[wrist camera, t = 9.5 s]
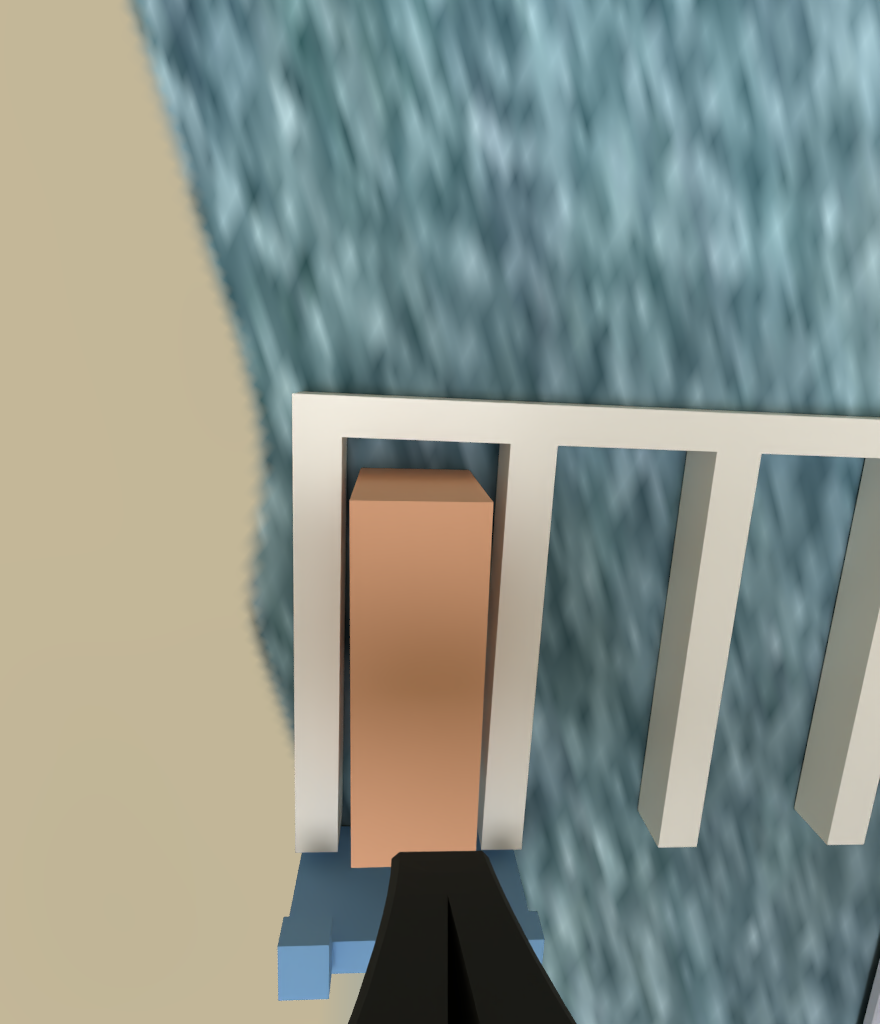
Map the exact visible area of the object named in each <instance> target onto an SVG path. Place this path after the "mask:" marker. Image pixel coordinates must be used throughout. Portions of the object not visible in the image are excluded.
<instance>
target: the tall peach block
mask: <svg viewBox="0 0 880 1024" xmlns="http://www.w3.org/2000/svg"><path fill="white" fill-rule="evenodd" d="M349 506H350V739H351V868H368V867H391V859H392V858H393V857H394V856H395V855H396V854H398V853H399V852H422V851H476V840H477V821H478V801H479V781H480V761H481V741H482V721H483V701H484V681H485V661H486V641H487V621H488V601H489V581H490V561H491V542H492V522H493V501H492V500H491V499H490V497H489V496H488V495H487V493H486V492H485V491H484V489H483V488H482V487H481V485H480V484H479V483H478V481H477V480H476V479H475V477H474V476H473V475H472V473H471V472H470V471H469V470H449V469H394V468H361V469H360V472H359V475H358V478H357V481H356V484H355V486H354V489H353V492H352V495H351V498H350V500H349Z"/></svg>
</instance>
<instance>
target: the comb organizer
mask: <svg viewBox="0 0 880 1024" xmlns="http://www.w3.org/2000/svg"><path fill="white" fill-rule="evenodd" d="M347 437H352V438H378V439H403V440H429V441H454V442H479V443H500V446H499V461H498V475H497V490H496V505H495V519H494V534H493V548H492V563H491V577H490V592H489V606H488V621H487V641H486V661H485V681H484V701H483V721H482V741H481V761H480V781H479V801H478V821H477V829H478V835H479V840H480V846H481V850H509V849H521V847H522V836H523V825H524V814H525V802H526V791H527V780H528V769H529V758H530V747H531V736H532V725H533V714H534V703H535V691H536V680H537V669H538V658H539V647H540V636H541V625H542V614H543V603H544V592H545V580H546V569H547V558H548V547H549V536H550V525H551V514H552V503H553V492H554V481H555V469H556V458H557V447H558V446H581V447H606V448H632V449H657V450H682V451H687V456H686V463H685V471H684V478H683V485H682V492H681V500H680V507H679V514H678V521H677V529H676V536H675V543H674V550H673V558H672V565H671V572H670V579H669V587H668V594H667V601H666V608H665V616H664V623H663V630H662V637H661V645H660V652H659V659H658V666H657V674H656V681H655V688H654V695H653V703H652V710H651V717H650V724H649V732H648V739H647V746H646V753H645V761H644V768H643V775H642V782H641V790H640V797H639V804H638V812H639V813H640V815H641V817H642V819H643V821H644V822H645V824H646V826H647V828H648V830H649V831H650V833H651V835H652V837H653V839H654V841H655V842H656V844H657V846H658V847H697V841H698V835H699V828H700V822H701V816H702V810H703V804H704V798H705V792H706V786H707V780H708V774H709V768H710V762H711V756H712V750H713V744H714V738H715V732H716V726H717V720H718V714H719V708H720V702H721V695H722V689H723V683H724V677H725V671H726V665H727V659H728V653H729V647H730V641H731V635H732V629H733V623H734V617H735V611H736V605H737V599H738V593H739V587H740V581H741V575H742V569H743V562H744V556H745V550H746V544H747V538H748V532H749V526H750V520H751V514H752V508H753V502H754V496H755V490H756V484H757V478H758V472H759V466H760V460H761V454H784V455H809V456H835V457H860V458H866V459H865V464H864V468H863V473H862V478H861V483H860V488H859V493H858V498H857V503H856V508H855V513H854V517H853V522H852V527H851V532H850V537H849V542H848V547H847V552H846V557H845V562H844V566H843V571H842V576H841V581H840V586H839V591H838V596H837V601H836V606H835V611H834V615H833V620H832V625H831V630H830V635H829V640H828V645H827V650H826V655H825V660H824V664H823V669H822V674H821V679H820V684H819V689H818V694H817V699H816V704H815V709H814V713H813V718H812V723H811V728H810V733H809V738H808V743H807V748H806V753H805V758H804V762H803V767H802V772H801V777H800V782H799V787H798V792H797V797H796V802H795V807H794V809H795V810H796V811H797V812H798V813H799V815H800V816H801V817H802V818H803V819H804V820H805V821H806V822H807V823H808V824H809V825H810V827H811V828H812V829H813V830H814V831H815V832H816V833H817V834H818V835H819V836H820V838H821V839H822V840H823V841H824V842H825V843H826V844H827V845H854V844H864V841H865V837H866V833H867V828H868V824H869V820H870V816H871V811H872V807H873V803H874V799H875V795H876V790H877V786H878V782H879V778H880V417H858V416H836V415H814V414H791V413H769V412H747V411H725V410H703V409H680V408H658V407H636V406H614V405H592V404H570V403H547V402H525V401H503V400H481V399H459V398H436V397H414V396H392V395H370V394H348V393H326V392H303V391H302V392H297V393H292V443H293V582H294V721H295V849H296V851H295V852H296V853H302V852H338V844H339V836H340V828H341V819H342V797H343V719H344V641H345V563H346V485H347Z"/></svg>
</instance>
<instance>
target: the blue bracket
mask: <svg viewBox="0 0 880 1024" xmlns="http://www.w3.org/2000/svg"><path fill="white" fill-rule="evenodd" d="M476 851H483V852H484V853H485V854H486V855H487V856H488V857H489V859H490V862H491V864H492V867H493V869H494V871H495V874H496V876H497V878H498V880H499V883H500V885H501V887H502V889H503V891H504V893H505V896H506V898H507V900H508V902H509V904H510V906H511V908H512V910H513V912H514V914H515V916H516V918H517V920H518V922H519V924H520V925H521V927H522V929H523V931H524V933H525V935H526V937H527V939H528V941H529V943H530V944H531V946H532V948H533V950H534V952H535V954H536V955H537V957H538V959H539V961H540V963H541V964H542V959H543V950H544V940H545V939H544V935H543V932H542V928H541V924H540V920H539V916H538V913H537V911H528V908H527V904H526V900H525V895H524V891H523V887H522V883H521V879H520V875H519V871H518V867H517V863H516V859H515V855H514V851H513V849H509V850H481V846H480V840H479V835H478V829H477V840H476ZM390 873H391V867H368V868H351V826H341V828H340V836H339V844H338V852H302V855H301V860H300V865H299V870H298V875H297V880H296V886H295V890H294V895H293V901H292V906H291V911H290V916H289V917H284V918H283V923H282V928H281V933H280V938H279V943H278V992H279V993H278V1000H279V1001H281V1000H308V999H309V1000H310V999H329V992H330V982H331V974H338V973H366V970H367V967H368V963H369V960H370V957H371V954H372V951H373V948H374V945H375V941H376V938H377V934H378V930H379V926H380V922H381V919H382V915H383V911H384V906H385V902H386V897H387V892H388V886H389V880H390Z"/></svg>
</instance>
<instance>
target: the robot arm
mask: <svg viewBox="0 0 880 1024" xmlns="http://www.w3.org/2000/svg"><path fill="white" fill-rule="evenodd" d="M348 1024H576V1022H575V1020H574V1019H573V1017H572V1016H571V1014H570V1012H569V1011H568V1009H567V1007H566V1006H565V1004H564V1002H563V1001H562V999H561V997H560V995H559V994H558V992H557V990H556V989H555V987H554V985H553V983H552V982H551V980H550V978H549V976H548V975H547V973H546V971H545V969H544V968H543V966H542V964H541V963H540V961H539V959H538V957H537V955H536V954H535V952H534V950H533V948H532V946H531V944H530V943H529V941H528V939H527V937H526V935H525V933H524V931H523V929H522V927H521V925H520V924H519V922H518V920H517V918H516V916H515V914H514V912H513V910H512V908H511V906H510V904H509V902H508V900H507V898H506V896H505V893H504V891H503V889H502V887H501V885H500V883H499V880H498V878H497V876H496V874H495V871H494V869H493V867H492V864H491V862H490V859H489V857H488V856H487V855H486V854H485V853H484V852H483V851H422V852H399V853H398V854H396V855H395V856H394V857H393V858H392V859H391V873H390V880H389V886H388V892H387V897H386V902H385V906H384V911H383V915H382V919H381V922H380V926H379V930H378V934H377V938H376V941H375V945H374V948H373V951H372V954H371V957H370V960H369V963H368V967H367V970H366V973H365V976H364V979H363V983H362V986H361V989H360V992H359V995H358V998H357V1001H356V1004H355V1006H354V1009H353V1012H352V1015H351V1017H350V1020H349V1022H348ZM863 1024H880V960H879V964H878V968H877V972H876V975H875V979H874V983H873V987H872V991H871V995H870V999H869V1003H868V1007H867V1010H866V1014H865V1018H864V1022H863Z"/></svg>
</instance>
